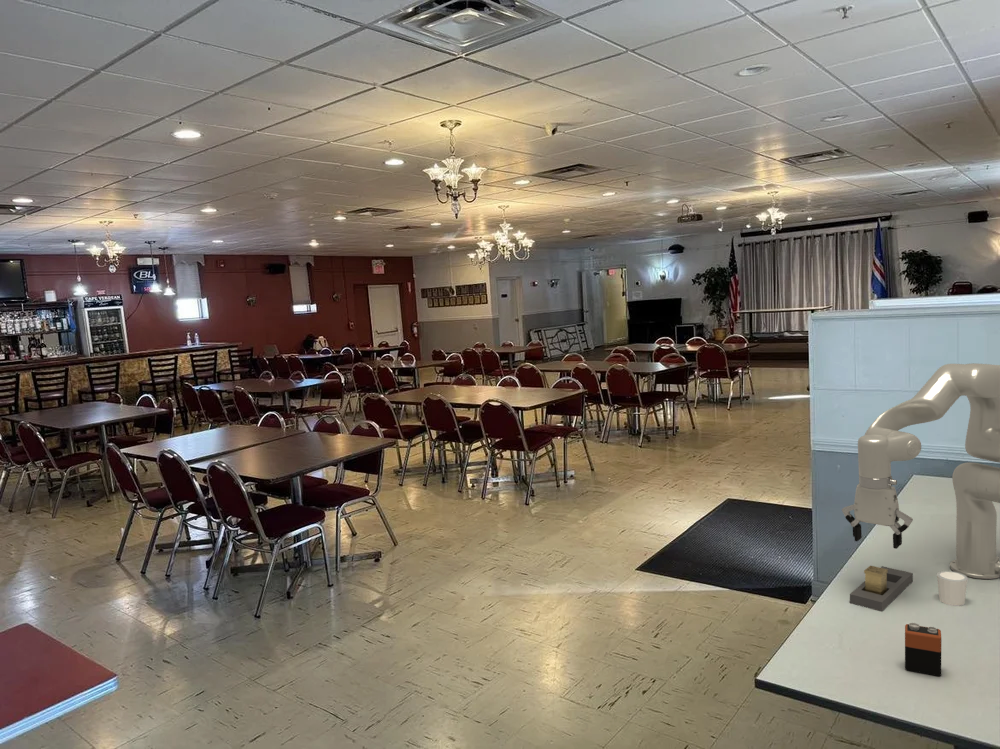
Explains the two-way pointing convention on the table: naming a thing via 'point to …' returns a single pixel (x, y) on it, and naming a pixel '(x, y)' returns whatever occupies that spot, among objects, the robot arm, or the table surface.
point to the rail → (895, 586)
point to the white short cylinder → (952, 587)
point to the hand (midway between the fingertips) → (877, 543)
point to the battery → (923, 649)
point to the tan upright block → (876, 580)
